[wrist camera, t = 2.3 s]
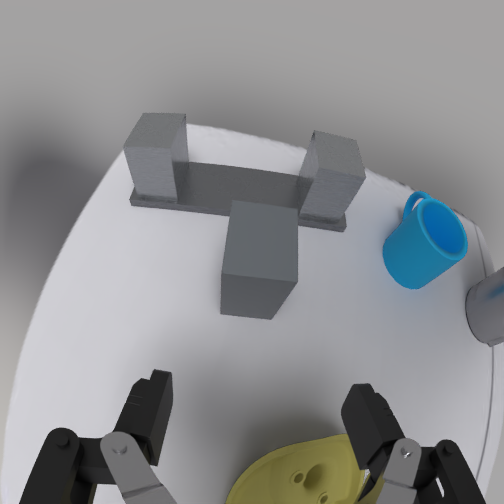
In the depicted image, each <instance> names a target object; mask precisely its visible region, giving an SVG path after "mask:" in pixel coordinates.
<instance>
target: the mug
mask: <svg viewBox="0 0 504 504" xmlns="http://www.w3.org/2000/svg"><path fill="white" fill-rule="evenodd" d="M419 198H424V199H423V200H422V201H421V202H420V203H419V204H418V205H417V206H416V207H415V208H414V209H413V206H414V204H415V202H416V201H417V200H418V199H419ZM412 209H413V211H412ZM467 248H468V242H467V236H466V233H465V230H464V228H463V225H462V224H461V222H460V220H459V219H458V217H457V216H456V215H455V213H454V212H453V211H452V210H451V209H450V208H449V207H448V206H446V205H445V204H444V203H442V202H440V201H438V200H436V199H432V198H431V197H430V195H429V194H427V193H425V192H422V191H417V192H414V193H413V194H412V195H411V196H410V197H409V199H408V200H407V202H406V205H405V208H404V213H403V221H402V223H401V224H400V225H399V226H398V227H397V229H396V230H395V231H394V232H393V233H392V234H391V235H390V236H389V237H388V238H387V239H386V241H385V243H384V246H383V259H384V263H385V266H386V268H387V270H388V272H389V274H390V275H391V276H392V277H393V278H394V280H395V281H396V282H398V283H399V284H400V285H402V286H403V287H406V288H409V289H419V288H421V287H423V286H424V285H426V284H427V283H429V282H430V281H432V280H433V279H435V278H436V277H438V276H439V275H440V274H442V273H443V272H445V271H446V270H447V269H449V268H450V267H452V266H453V265H454V264H456V263H457V262H458V261H460V260H461V259H462V258H464V256H465V255H466V253H467Z"/></svg>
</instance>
